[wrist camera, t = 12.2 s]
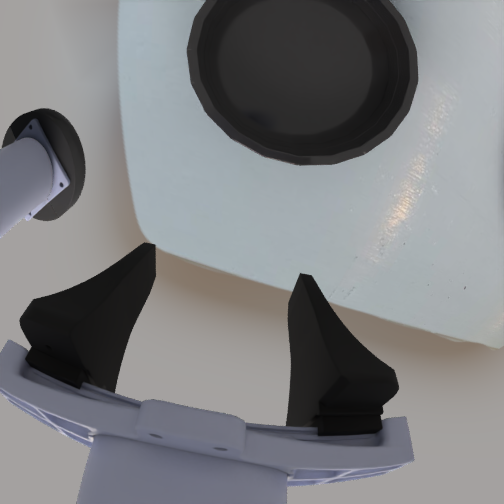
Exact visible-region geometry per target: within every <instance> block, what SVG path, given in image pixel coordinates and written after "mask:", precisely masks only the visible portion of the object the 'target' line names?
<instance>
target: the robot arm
mask: <svg viewBox="0 0 504 504" xmlns="http://www.w3.org/2000/svg"><path fill="white" fill-rule="evenodd" d="M62 183H63V185H62ZM69 184H70V180H69V178H68V176H67V174H66V172H65V171H64V169H63V167H62V165H61V164H60V162H59V160H58V158H57V156H56V154H55V153H54V151H53V149H52V147H51V145H50V143H49V141H48V139H47V137H46V135H45V133H44V131H43V129H42V127H41V125H40V123H39V121H38V119H33V120H31V122H30V123H29V124H28V125H27V126H26V128H25V129H24V130H23V131H22V132H21V134H20V135H19V136H18V138H17V139H16V140H15V141H14V143H12V144H10V145H8V146H6V147H4V148H2V149H0V239H1V238H2V237H3V236H4V235H5V234H6V233H7V232H8V231H9V230H10V229H11V228H12V227H13V226H15V225H16V224H17V223H18V222H19V221H20V220H22V219H23V218H25V219H26V220H27V221H29V220H30V219H31V218H32V217H33V216H34V215H35V214H36V213H37V212H38V211H40V210H41V209H42V208H43V207H44V206H45V205H46V204H47V203H48V202H50V201H51V200H52V199H53V198H54V197H55V196H57V195H58V194H59V193H60V192H61V191H62V190H64V189H65V188H66V187H67V186H69ZM155 252H156V251H155V244H150V243H143V244H141V245H140V246H138V247H137V248H136V249H134V250H133V251H132V252H130V253H129V254H128V255H126V256H125V257H123V258H122V259H121V260H119V261H118V262H116V263H115V264H113V265H112V266H110V267H109V268H108V269H106V270H104V271H103V272H101V273H100V274H98V275H96V276H94V277H93V278H91V279H89V280H87V281H85V282H83V283H80V284H78V285H76V286H74V287H72V288H69V289H67V290H64V291H61V292H58V293H55V294H52V295H49V296H45V297H41V298H37V299H33V301H32V302H31V303H30V305H29V306H28V307H27V309H26V310H25V312H24V313H23V315H22V316H21V318H20V326H21V329H22V330H23V332H24V334H25V336H26V338H27V340H28V341H29V343H30V345H31V346H32V347H31V349H30V351H28V350H27V349H25V348H24V347H23V346H21V345H19V344H17V343H15V342H13V341H12V340H8V341H7V343H6V344H5V346H4V348H3V349H2V351H1V353H0V393H1V394H2V395H3V396H4V397H5V398H6V399H7V400H8V401H9V402H10V403H12V404H13V405H15V406H16V407H18V408H19V409H21V410H22V411H24V412H25V413H27V414H29V415H30V416H32V417H34V418H35V419H37V420H39V421H40V422H42V423H44V424H45V425H47V426H49V427H51V428H52V429H54V430H56V431H58V432H60V433H61V434H63V435H65V436H67V437H69V438H71V439H73V440H75V441H77V442H79V443H81V444H83V445H85V446H88V447H90V448H91V449H90V453H89V456H88V460H87V463H86V467H85V471H84V474H83V478H82V482H81V486H80V490H79V494H78V498H77V503H76V504H287V487H288V486H306V485H318V484H327V483H335V482H342V481H350V480H356V479H361V478H367V477H374V476H379V475H384V474H386V473H388V472H391V471H394V470H396V469H398V468H400V467H403V466H405V465H407V464H409V463H411V462H413V461H414V455H413V449H412V443H411V438H410V433H409V428H408V423H407V418H406V417H405V416H404V417H394V418H387V419H384V420H381V416H380V415H381V414H383V407H382V406H383V405H384V404H385V403H387V402H388V401H389V400H390V399H391V398H393V397H394V395H395V394H396V393H397V391H398V390H399V385H398V381H397V377H396V374H395V371H394V369H392V368H391V367H389V366H388V365H387V364H385V363H384V362H382V361H381V360H380V359H378V358H377V357H375V355H373V354H372V353H371V352H370V351H369V350H368V349H367V348H365V347H364V346H363V345H362V344H361V343H360V342H359V341H358V340H357V339H356V338H355V337H354V336H353V335H352V333H351V332H350V331H349V330H348V329H347V328H346V326H345V325H344V324H343V323H342V321H341V320H340V319H339V318H338V316H337V315H336V313H335V312H334V311H333V309H332V308H331V306H330V305H329V303H328V301H327V300H326V298H325V297H324V295H323V293H322V292H321V290H320V288H319V287H318V285H317V283H316V282H315V280H314V278H313V277H312V275H307V274H302V273H300V275H299V277H298V280H297V282H296V285H295V287H294V290H293V292H292V295H291V298H290V300H289V303H288V330H289V342H290V353H291V377H290V393H289V403H288V414H287V421H286V426H275V425H262V424H253V423H245V422H244V420H242V419H240V418H238V417H236V416H233V415H230V414H226V413H220V412H214V411H208V410H203V409H198V408H193V407H188V406H183V405H179V404H175V403H170V402H166V401H161V400H154V399H151V400H145V401H143V402H141V401H138V400H135V399H131V398H128V397H125V396H121V395H119V394H115V389H116V384H117V379H118V375H119V371H120V367H121V363H122V360H123V356H124V353H125V349H126V346H127V343H128V340H129V337H130V334H131V332H132V329H133V327H134V325H135V323H136V320H137V318H138V316H139V314H140V312H141V310H142V308H143V306H144V304H145V302H146V300H147V298H148V296H149V294H150V291H151V289H152V286H153V283H154V280H155V277H156V258H155V257H156V256H155V255H156V253H155Z"/></svg>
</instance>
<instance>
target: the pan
mask: <svg viewBox="0 0 504 504" xmlns="http://www.w3.org/2000/svg"><path fill="white" fill-rule="evenodd" d="M187 57H188V65H189V72H190V80H191V84H192V86H193V88H194V90H195V92H196V94H197V96H198V98H199V100H200V102H201V104H202V106H203V108H204V110H205V112H206V113H207V115H208V116H209V117H210V118H211V119H212V120H213V121H214V122H215V123H216V124H217V125H218V126H219V127H220V128H221V129H222V130H223V131H224V132H225V133H226V134H227V135H228V136H229V137H230V138H231V139H232V140H234V141H236V142H238V143H239V144H241V145H243V146H245V147H247V148H248V149H250V150H252V151H254V152H255V153H257V154H259V155H261V156H264V157H266V158H270V159H274V160H278V161H282V162H286V163H290V164H294V165H299V166H301V165H332V164H337V163H340V162H343V161H346V160H349V159H352V158H355V157H359V156H362V155H364V154H366V153H368V152H369V151H371V150H372V149H373V148H375V147H376V146H378V145H379V144H381V143H382V142H383V141H385V140H386V139H388V138H389V137H390V136H391V135H392V134H393V133H394V131H395V130H396V129H397V127H398V126H399V125H400V123H401V122H402V121H403V119H404V118H405V116H406V115H407V114H408V112H409V110H410V107H411V104H412V101H413V98H414V94H415V91H416V87H417V84H418V63H417V50H416V47H415V44H414V42H413V39H412V37H411V34H410V32H409V29H408V27H407V24H406V22H405V20H404V18H403V17H402V16H401V14H400V13H399V12H398V11H397V9H396V8H395V7H394V6H393V4H392V3H391V2H390V1H389V0H206V1H205V3H204V4H203V6H202V7H201V9H200V10H199V12H198V13H197V15H196V16H195V18H194V21H193V25H192V29H191V33H190V38H189V42H188V46H187Z"/></svg>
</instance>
